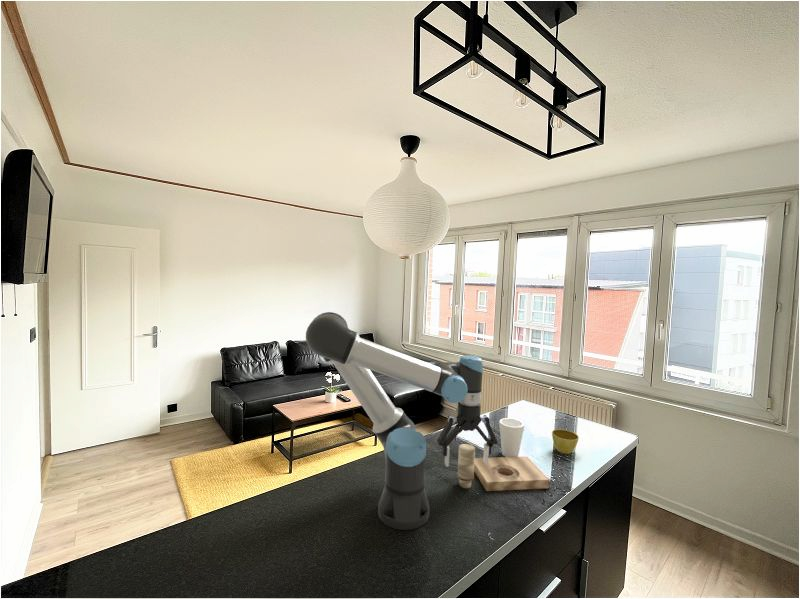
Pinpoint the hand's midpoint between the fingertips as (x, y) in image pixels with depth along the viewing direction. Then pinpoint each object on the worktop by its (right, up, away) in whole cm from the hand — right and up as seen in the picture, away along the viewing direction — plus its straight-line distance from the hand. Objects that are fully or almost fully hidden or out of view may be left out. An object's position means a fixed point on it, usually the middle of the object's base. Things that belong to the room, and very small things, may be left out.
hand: (466, 464), depth 125 cm
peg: (0, -7, 0) cm, 7 cm away
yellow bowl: (+45, -7, +28) cm, 54 cm away
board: (+16, -7, +7) cm, 19 cm away
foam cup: (+22, -7, +24) cm, 33 cm away
